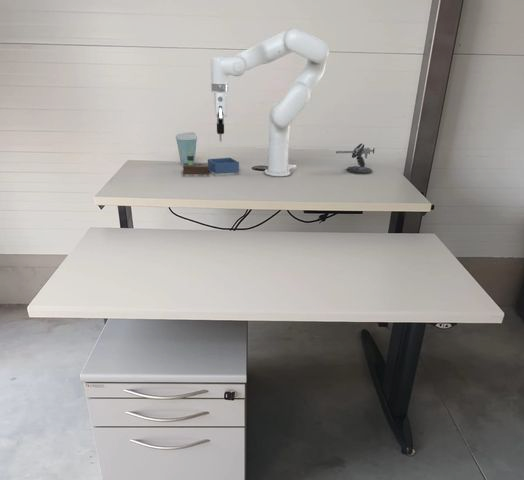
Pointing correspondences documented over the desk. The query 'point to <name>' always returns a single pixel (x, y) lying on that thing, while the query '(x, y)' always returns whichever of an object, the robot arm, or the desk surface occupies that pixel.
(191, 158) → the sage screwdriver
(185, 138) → the cup of blue liquid
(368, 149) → the gun turret
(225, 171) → the tote
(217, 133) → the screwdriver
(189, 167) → the rack
